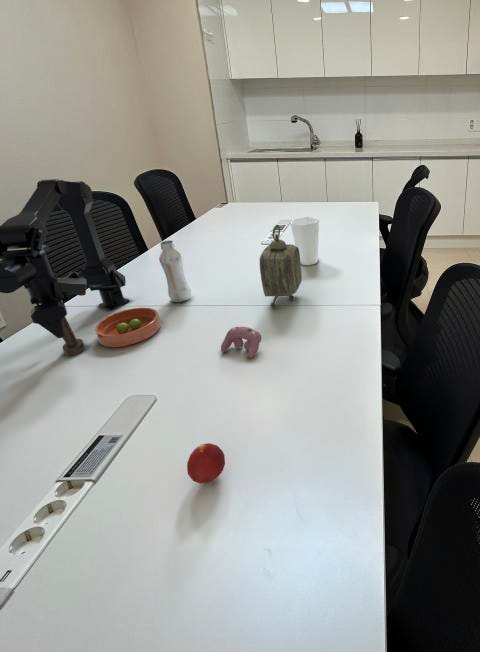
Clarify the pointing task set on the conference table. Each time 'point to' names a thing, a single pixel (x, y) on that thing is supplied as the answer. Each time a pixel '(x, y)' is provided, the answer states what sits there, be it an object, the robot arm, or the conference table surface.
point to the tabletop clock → (280, 269)
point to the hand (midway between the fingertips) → (60, 330)
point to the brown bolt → (71, 340)
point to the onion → (205, 463)
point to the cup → (306, 238)
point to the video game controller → (237, 336)
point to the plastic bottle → (174, 272)
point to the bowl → (115, 339)
